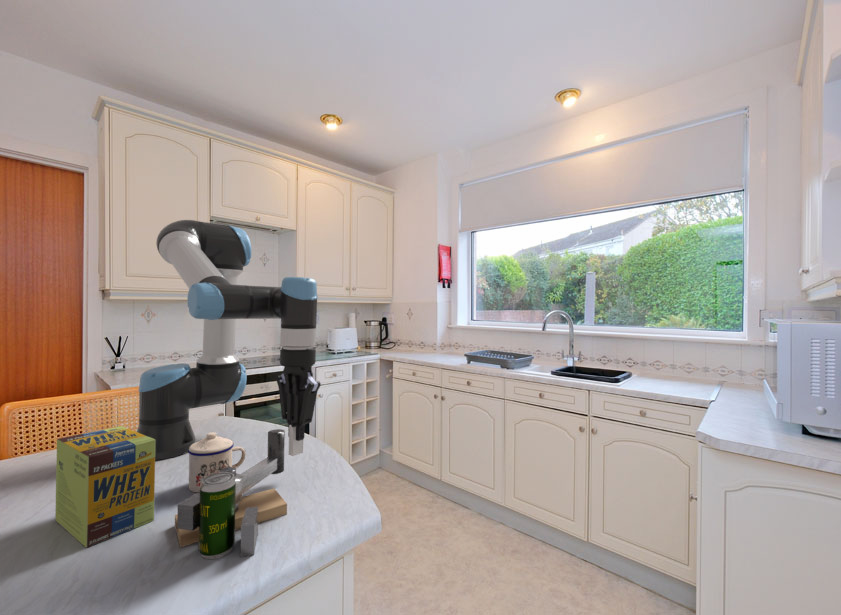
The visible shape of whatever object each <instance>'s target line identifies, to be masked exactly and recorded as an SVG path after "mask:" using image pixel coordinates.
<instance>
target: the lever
mask: <svg viewBox="0 0 841 615" xmlns="http://www.w3.org/2000/svg"><path fill="white" fill-rule="evenodd" d="M285 432H286V431H285V429H281V428H278V429H271V430H269V431H268V432H267V457H266V458H263V459H262V460H260V461H259V462H257V463H256V464H254V465H253V466H251V467H249V468H248V469H246V470H244V471H243V472H242V473H238V472H236V476H235V477H234V479H235V480H236V504H237V503H238V502H240V501H241V500H242V497H243V495H244V494H245V493H246V492H248V491H249V490H250V489H252V488H253V487H255V486H256V485H257V484H259V483H260V482H261V481H263V480H265V479H266V478H267V477H268V476H270V475H278V474H281V473H283V472H284V471H285V438H286V437H285ZM199 504H200V493H197V492H195V493H194V494H192V495H191V496H189V497H187V498H185V499H184V500H182V501H181V502H179V503H177V528H178V529H184V530H190V531H193V530H195V529H196V528H198V527H199Z"/></svg>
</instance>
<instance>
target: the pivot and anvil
mask: <svg viewBox="0 0 841 615" xmlns="http://www.w3.org/2000/svg"><path fill="white" fill-rule="evenodd" d="M221 472H228V473H232V474H234V475H235V476H236V473H237V468H234V467H227V468H223V469H221V470H220V473H221ZM235 476H234V477H235ZM238 510H239V502H238V503H237V504H235V513H236V512H237V511H238ZM258 536H259V523H258V507H250V508H246V511H245V514H244V518H243V522H242V525H241V528H240V558H242V557H248V556H249V557H250V556H254V555H255V551H256V546H257V541H258Z"/></svg>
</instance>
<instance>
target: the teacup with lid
mask: <svg viewBox="0 0 841 615" xmlns="http://www.w3.org/2000/svg"><path fill="white" fill-rule="evenodd" d="M235 451H240V452H241V456H240V459H239V460H238V462H237V463H235V464H233V452H235ZM187 453H188V454H189V456H188V463H189V464H188V488H189V491H191V492H193V493H200V486H201V484H202V483H201V482H202V479H204V478H205V477H207V476H209V475H212V474H215V473H220V470H221V469H223V468H227V467H234V468H236V469H238V468H239V467H241V465H243V463H244V462H245V460H246V456H247V453H246V450H245V449H244V448H243V447H242V446H234V441H232V440H231V439H229V438H225V437H221V436H218V435H217V432H213V431H212V432H208V433H207V434H206V437H203V438H202V439H201V440H199V441H195V443H194V444H192V445H191V446H190V447H189V450H188V452H187Z"/></svg>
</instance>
